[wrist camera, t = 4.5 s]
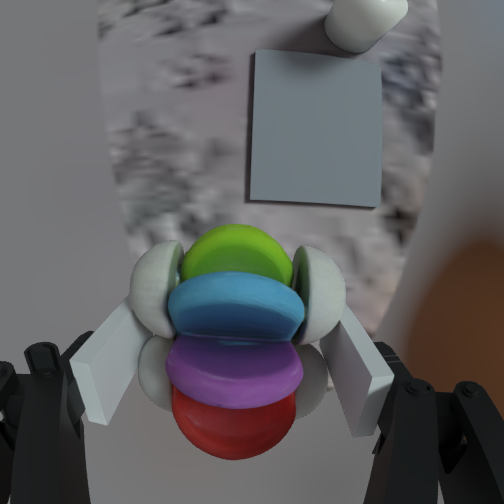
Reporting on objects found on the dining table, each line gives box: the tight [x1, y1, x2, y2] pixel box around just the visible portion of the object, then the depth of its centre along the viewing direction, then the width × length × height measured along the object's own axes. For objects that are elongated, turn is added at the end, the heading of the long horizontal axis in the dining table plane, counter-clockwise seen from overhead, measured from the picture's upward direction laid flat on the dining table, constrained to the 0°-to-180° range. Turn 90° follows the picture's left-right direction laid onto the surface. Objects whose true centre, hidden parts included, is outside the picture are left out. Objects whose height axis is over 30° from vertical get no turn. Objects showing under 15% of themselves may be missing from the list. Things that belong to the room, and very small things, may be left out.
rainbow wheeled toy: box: [130, 224, 346, 460], centre depth 11 cm, size 8×10×7 cm
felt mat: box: [250, 49, 383, 207], centre depth 24 cm, size 13×11×1 cm
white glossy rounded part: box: [324, 0, 408, 53], centre depth 18 cm, size 5×5×7 cm
